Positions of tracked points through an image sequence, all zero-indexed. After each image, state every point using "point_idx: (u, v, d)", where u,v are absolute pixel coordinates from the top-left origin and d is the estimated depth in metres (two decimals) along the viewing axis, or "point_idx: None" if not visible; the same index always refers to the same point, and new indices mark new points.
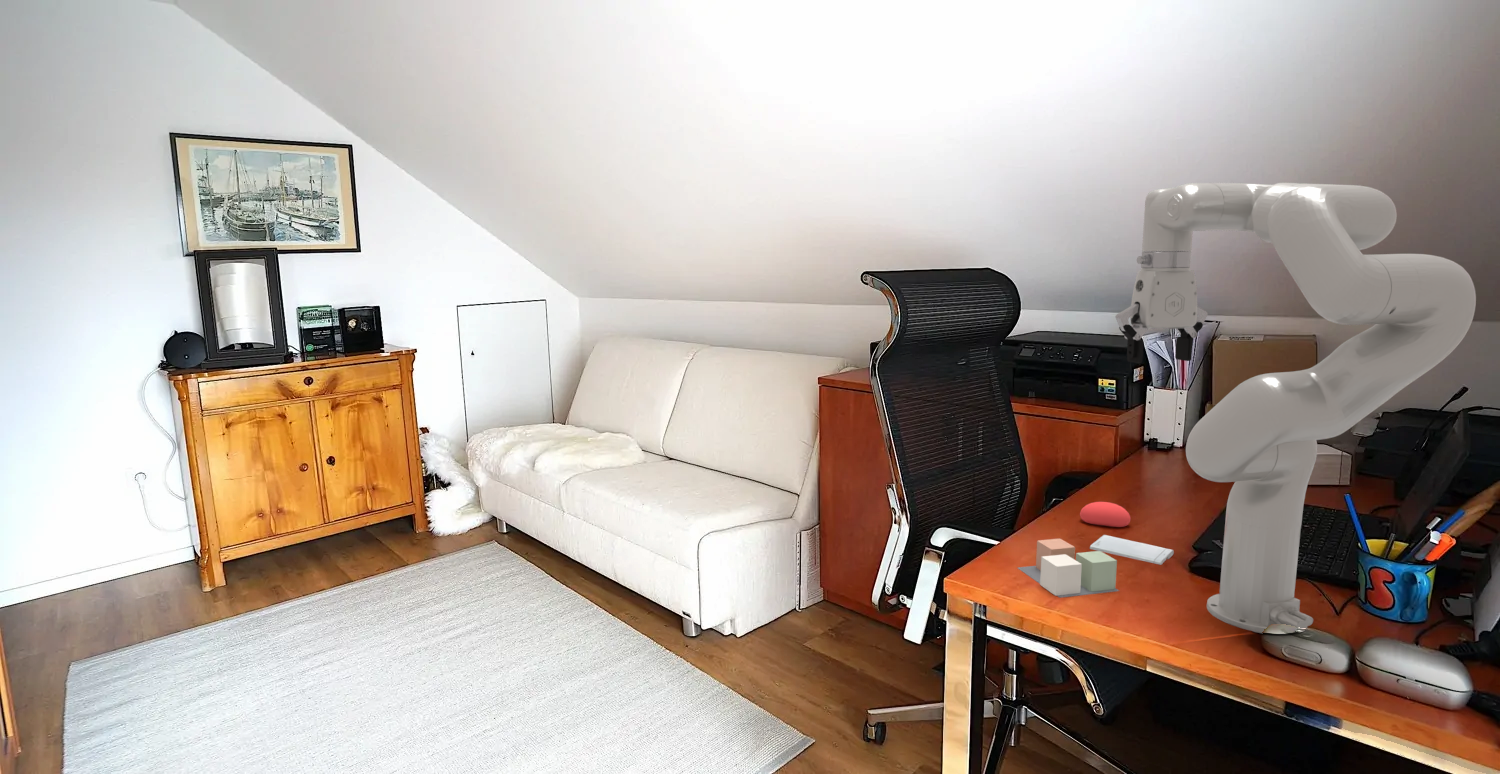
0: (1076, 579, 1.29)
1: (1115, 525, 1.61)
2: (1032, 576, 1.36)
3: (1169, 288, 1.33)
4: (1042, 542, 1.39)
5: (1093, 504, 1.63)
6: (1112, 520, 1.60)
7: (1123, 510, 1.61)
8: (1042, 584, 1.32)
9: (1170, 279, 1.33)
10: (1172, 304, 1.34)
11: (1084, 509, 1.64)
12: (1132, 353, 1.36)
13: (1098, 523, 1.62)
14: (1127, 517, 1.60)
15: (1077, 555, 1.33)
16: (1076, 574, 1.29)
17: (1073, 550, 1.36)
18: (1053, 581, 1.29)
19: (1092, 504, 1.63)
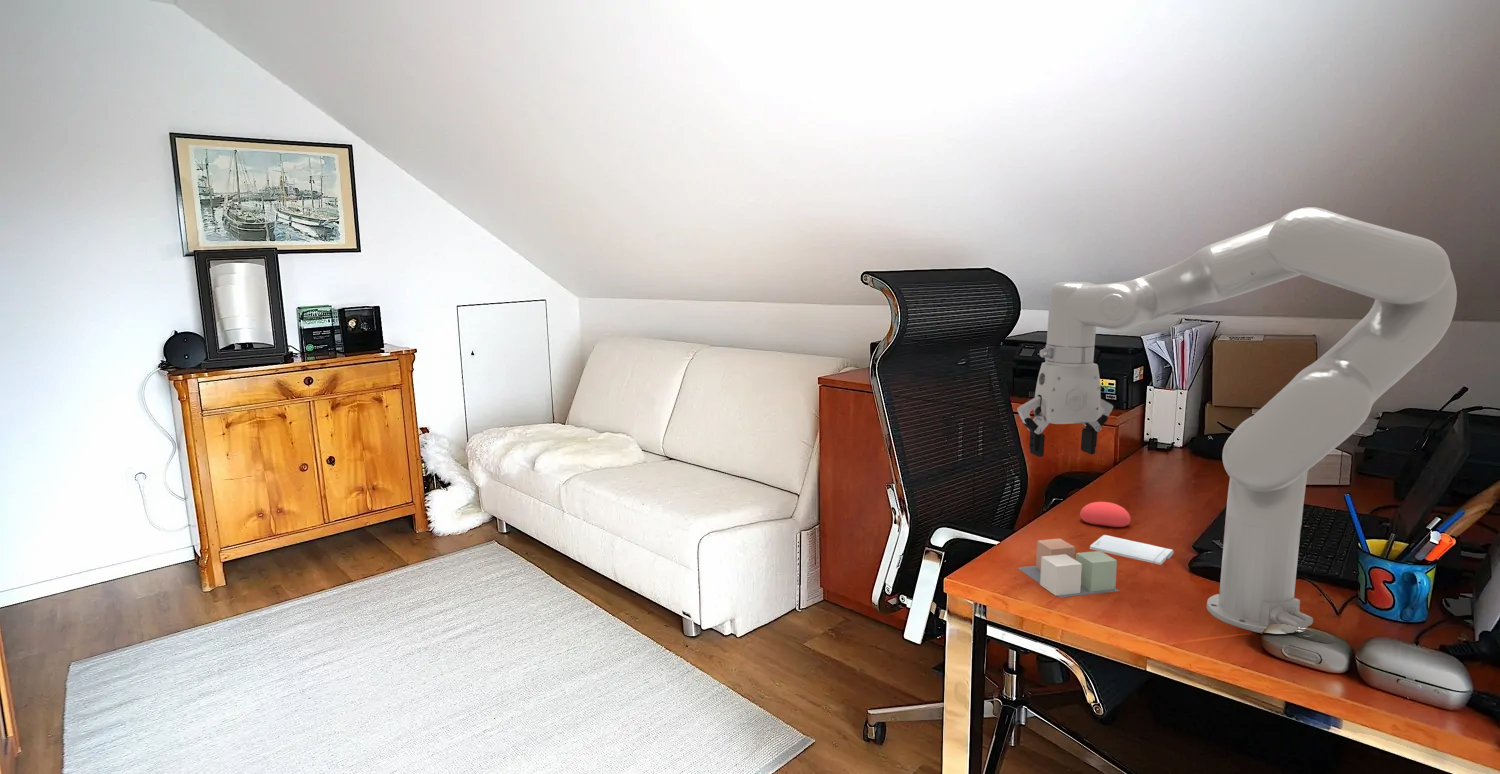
0: (1076, 579, 1.29)
1: (1115, 525, 1.61)
2: (1032, 576, 1.36)
3: (1070, 383, 1.31)
4: (1042, 542, 1.39)
5: (1093, 504, 1.63)
6: (1112, 520, 1.60)
7: (1123, 510, 1.61)
8: (1042, 584, 1.32)
9: (1072, 374, 1.31)
10: (1074, 399, 1.31)
11: (1084, 509, 1.64)
12: (1033, 446, 1.34)
13: (1098, 523, 1.62)
14: (1127, 517, 1.60)
15: (1077, 555, 1.33)
16: (1076, 574, 1.29)
17: (1073, 550, 1.36)
18: (1053, 581, 1.29)
19: (1092, 504, 1.63)
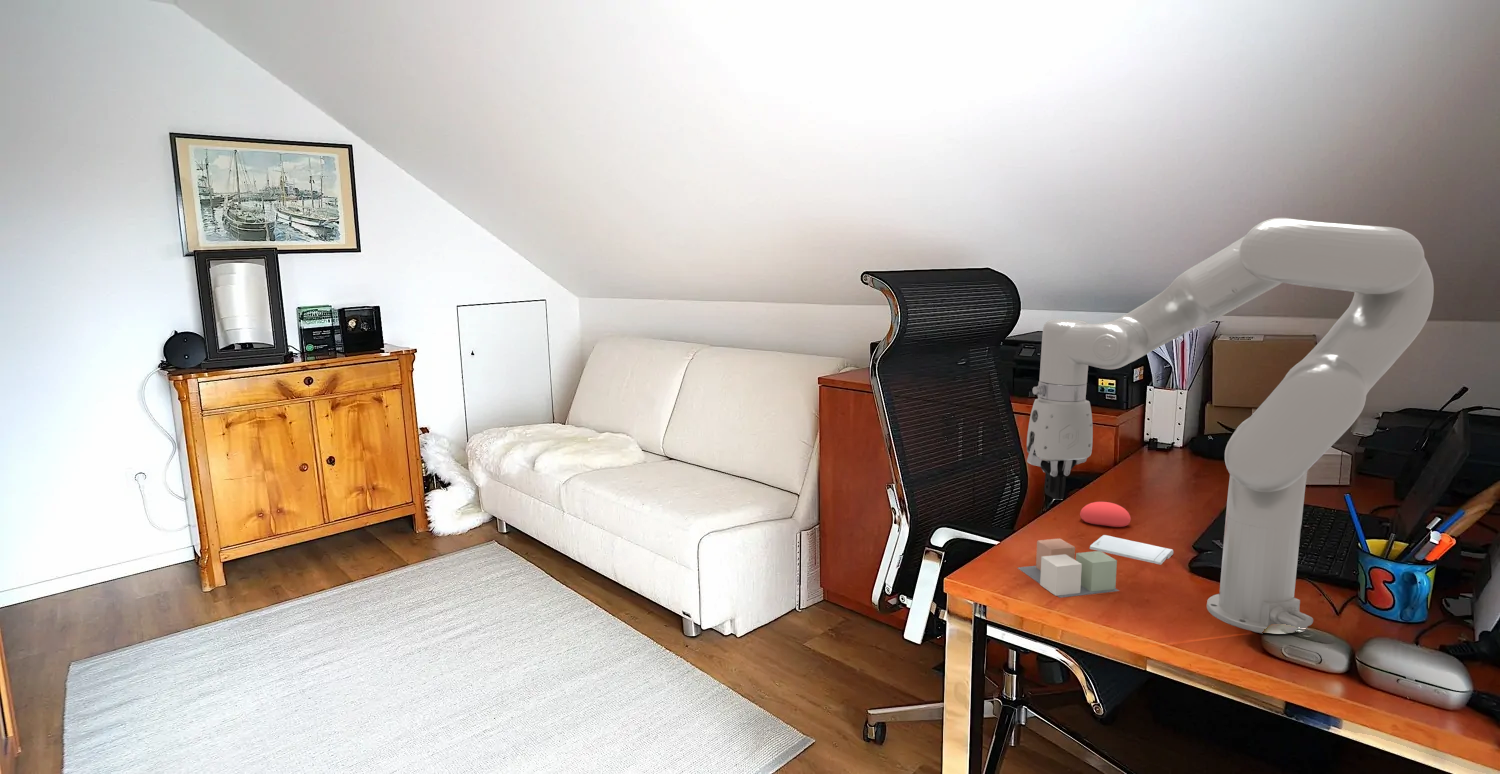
0: (1076, 579, 1.29)
1: (1115, 525, 1.61)
2: (1032, 576, 1.36)
3: (1063, 421, 1.31)
4: (1042, 542, 1.39)
5: (1093, 504, 1.63)
6: (1113, 520, 1.60)
7: (1123, 510, 1.61)
8: (1042, 584, 1.32)
9: (1064, 412, 1.31)
10: (1066, 436, 1.32)
11: (1084, 509, 1.64)
12: (1049, 488, 1.36)
13: (1098, 523, 1.62)
14: (1127, 517, 1.60)
15: (1077, 555, 1.33)
16: (1076, 574, 1.29)
17: (1073, 550, 1.36)
18: (1053, 581, 1.29)
19: (1092, 504, 1.63)
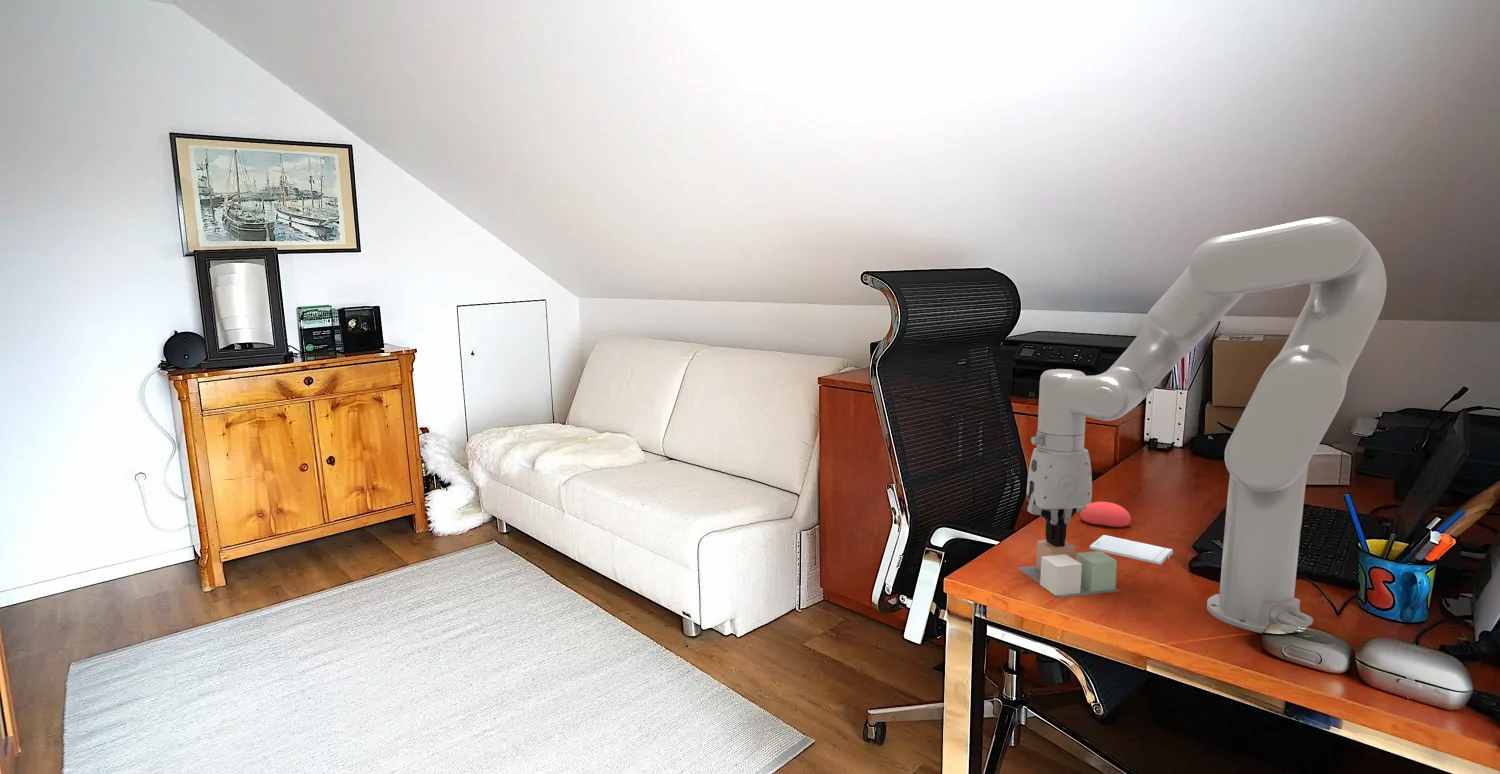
0: (1076, 579, 1.29)
1: (1115, 525, 1.61)
2: (1032, 576, 1.36)
3: (1062, 470, 1.33)
4: (1042, 542, 1.39)
5: (1093, 504, 1.63)
6: (1113, 520, 1.60)
7: (1123, 510, 1.61)
8: (1042, 584, 1.32)
9: (1063, 461, 1.32)
10: (1065, 486, 1.33)
11: None
12: (1050, 536, 1.37)
13: (1098, 523, 1.62)
14: (1127, 517, 1.60)
15: (1077, 555, 1.33)
16: (1076, 574, 1.29)
17: (1073, 550, 1.36)
18: (1053, 581, 1.29)
19: (1092, 504, 1.63)
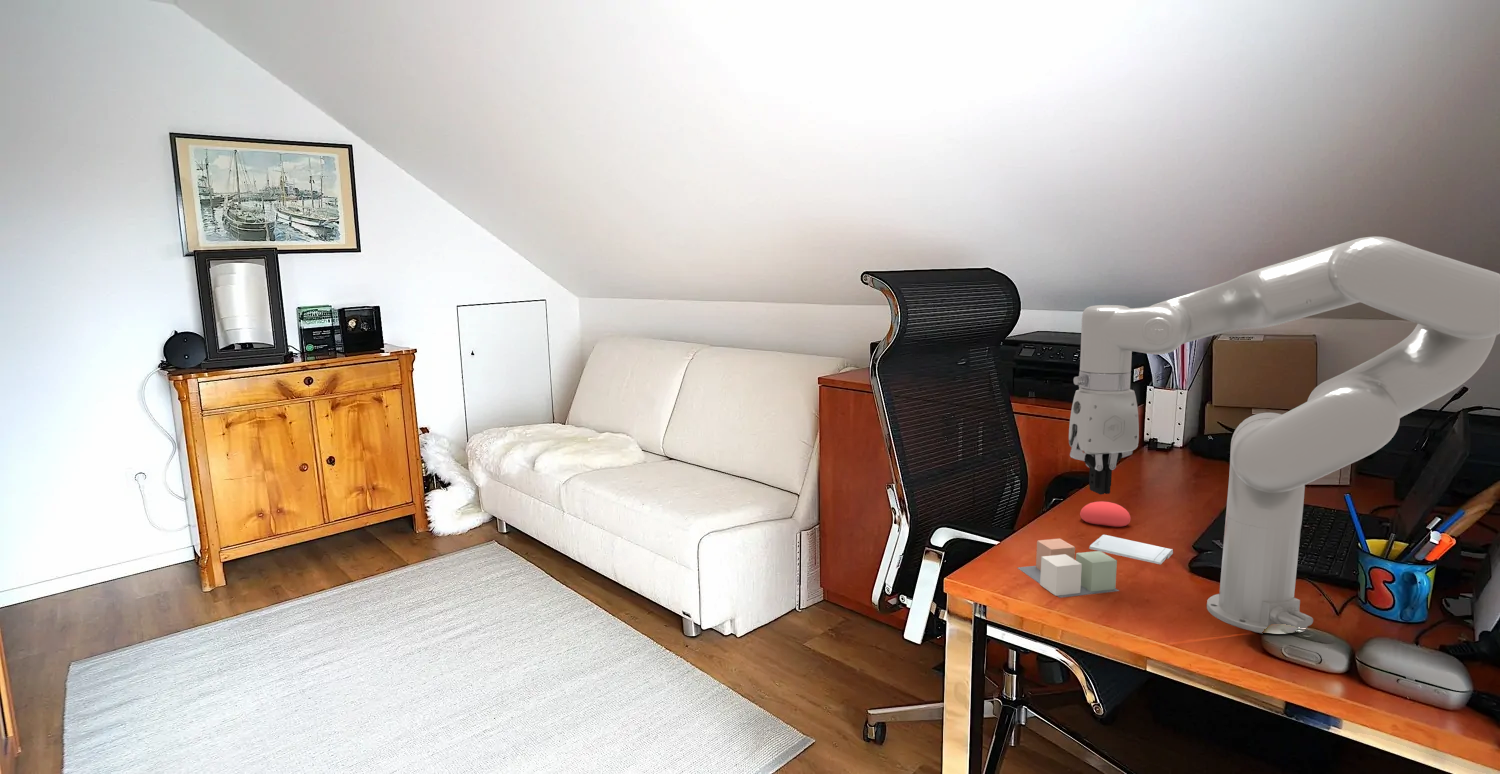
0: (1076, 579, 1.29)
1: (1115, 525, 1.61)
2: (1032, 576, 1.36)
3: (1107, 412, 1.25)
4: (1042, 542, 1.39)
5: (1093, 504, 1.63)
6: (1113, 520, 1.60)
7: (1123, 510, 1.61)
8: (1042, 584, 1.32)
9: (1109, 402, 1.25)
10: (1111, 428, 1.25)
11: (1084, 509, 1.64)
12: (1094, 483, 1.29)
13: (1098, 523, 1.62)
14: (1127, 516, 1.60)
15: (1077, 555, 1.33)
16: (1076, 574, 1.29)
17: (1073, 550, 1.36)
18: (1053, 581, 1.29)
19: (1092, 504, 1.63)
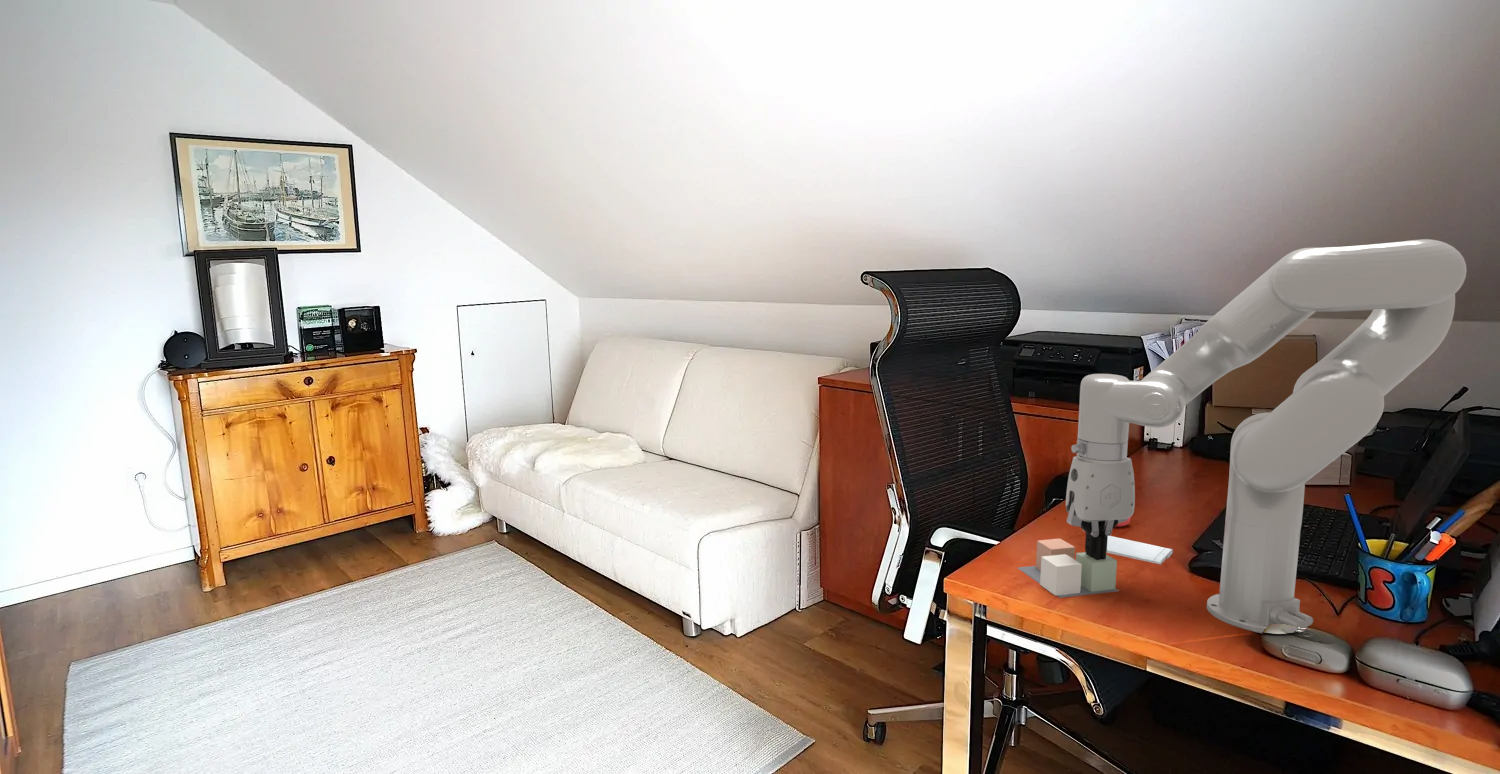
0: (1076, 579, 1.29)
1: None
2: (1032, 576, 1.36)
3: (1104, 480, 1.26)
4: (1042, 542, 1.39)
5: None
6: None
7: None
8: (1042, 584, 1.32)
9: (1106, 471, 1.26)
10: (1108, 496, 1.27)
11: None
12: (1090, 549, 1.30)
13: None
14: None
15: (1077, 555, 1.33)
16: (1076, 574, 1.29)
17: (1073, 550, 1.36)
18: (1053, 581, 1.29)
19: None
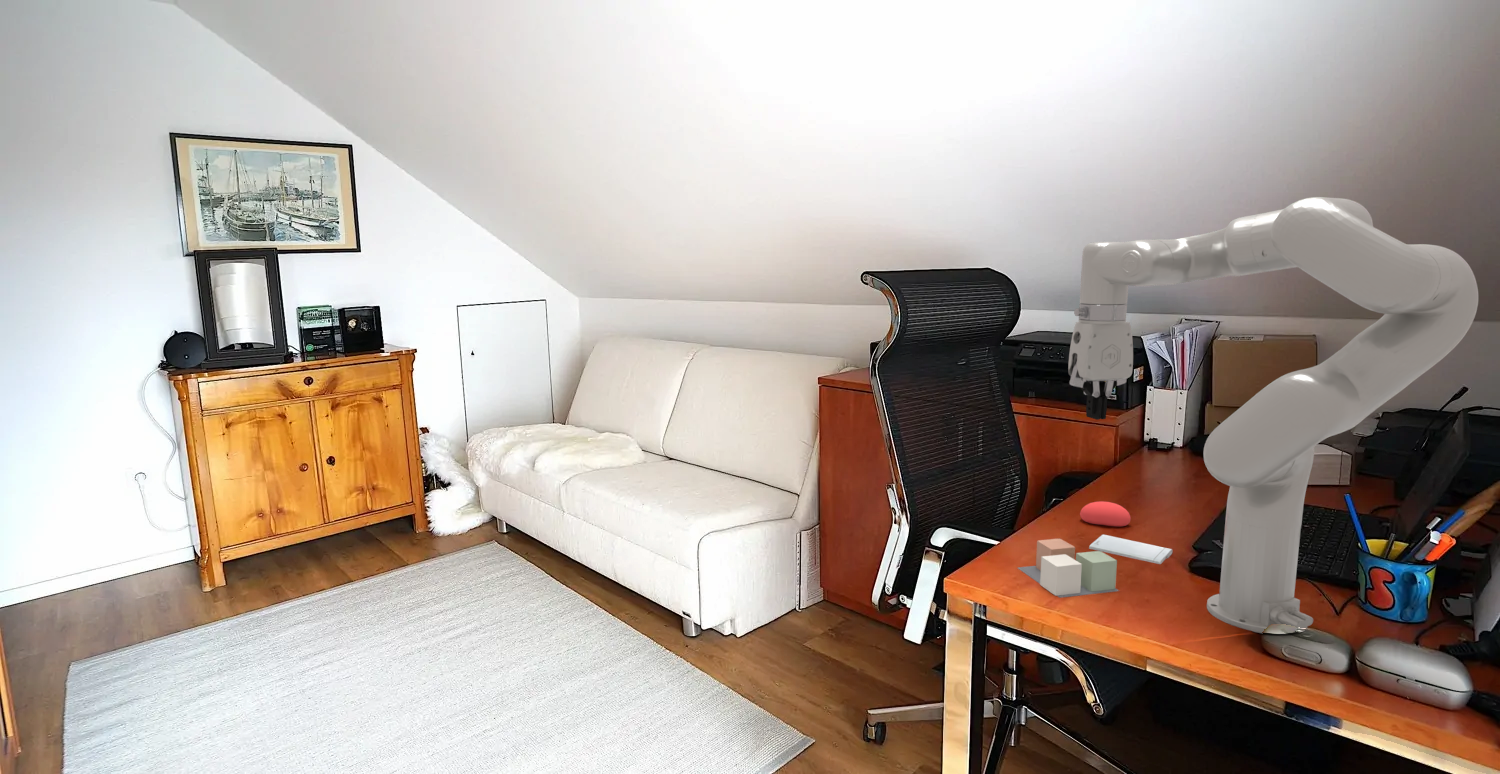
0: (1076, 579, 1.29)
1: (1115, 525, 1.61)
2: (1032, 576, 1.36)
3: (1105, 341, 1.34)
4: (1042, 542, 1.39)
5: (1093, 504, 1.63)
6: (1113, 520, 1.60)
7: (1123, 510, 1.61)
8: (1042, 584, 1.32)
9: (1107, 331, 1.34)
10: (1108, 356, 1.35)
11: (1084, 509, 1.64)
12: (1091, 409, 1.38)
13: (1098, 523, 1.62)
14: (1127, 516, 1.61)
15: (1077, 555, 1.33)
16: (1076, 574, 1.29)
17: (1073, 550, 1.36)
18: (1053, 581, 1.29)
19: (1092, 504, 1.63)
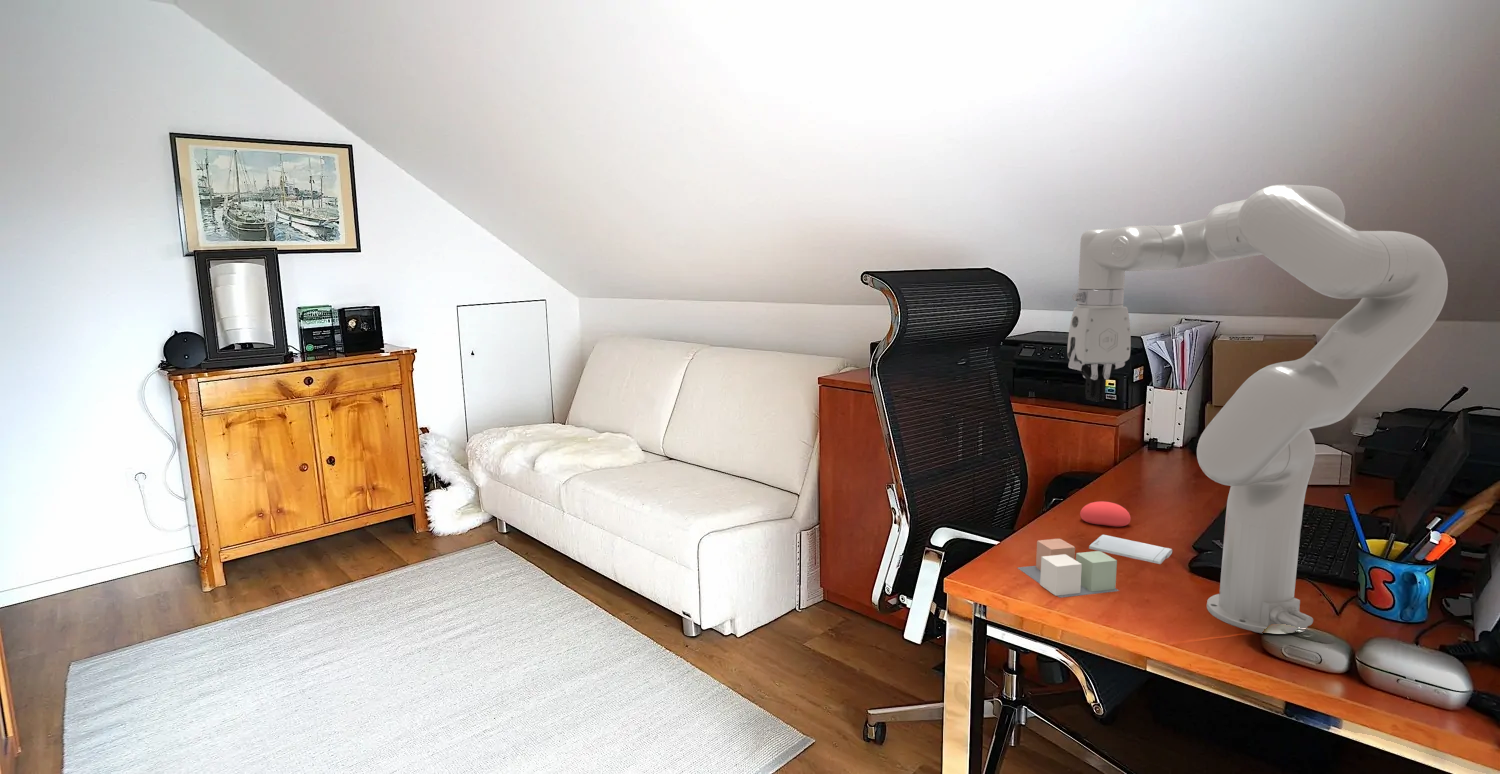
0: (1076, 579, 1.29)
1: (1115, 525, 1.61)
2: (1032, 576, 1.36)
3: (1102, 324, 1.38)
4: (1042, 542, 1.39)
5: (1093, 504, 1.63)
6: (1113, 520, 1.60)
7: (1123, 510, 1.61)
8: (1042, 584, 1.32)
9: (1104, 316, 1.38)
10: (1106, 340, 1.39)
11: (1084, 509, 1.64)
12: (1090, 392, 1.42)
13: (1098, 523, 1.62)
14: (1127, 516, 1.61)
15: (1077, 555, 1.33)
16: (1076, 574, 1.29)
17: (1073, 550, 1.36)
18: (1053, 581, 1.29)
19: (1092, 504, 1.63)
